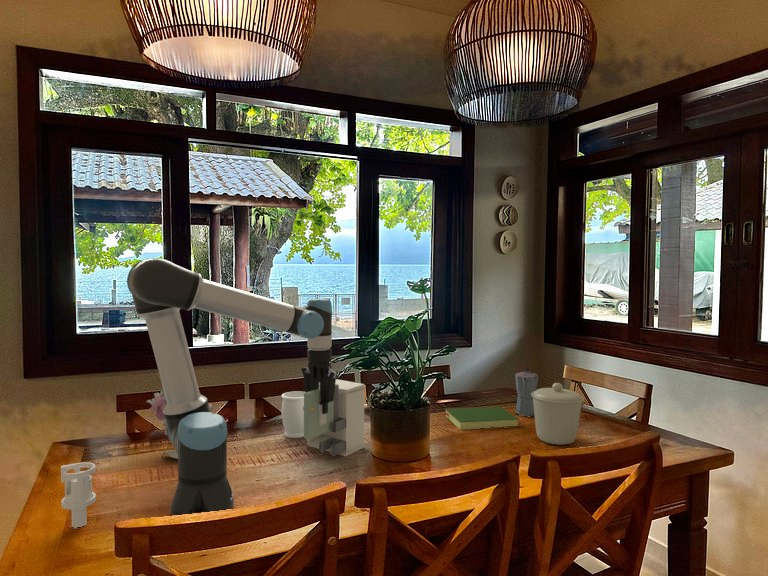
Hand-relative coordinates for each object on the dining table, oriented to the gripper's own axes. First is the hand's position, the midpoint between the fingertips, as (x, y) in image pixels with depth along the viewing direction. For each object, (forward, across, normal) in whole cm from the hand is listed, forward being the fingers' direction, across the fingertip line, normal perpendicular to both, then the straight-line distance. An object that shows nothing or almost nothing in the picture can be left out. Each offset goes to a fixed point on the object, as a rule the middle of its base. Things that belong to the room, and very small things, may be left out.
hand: (319, 422), depth 163 cm
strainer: (+13, +21, +62) cm, 67 cm away
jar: (+13, +25, -16) cm, 33 cm away
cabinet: (+13, +6, -12) cm, 19 cm away
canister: (+14, -55, -67) cm, 88 cm away
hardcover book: (+14, -23, -72) cm, 77 cm away
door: (+3, 0, -1) cm, 4 cm away
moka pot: (+14, -35, -93) cm, 100 cm away
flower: (+13, +44, +18) cm, 49 cm away
